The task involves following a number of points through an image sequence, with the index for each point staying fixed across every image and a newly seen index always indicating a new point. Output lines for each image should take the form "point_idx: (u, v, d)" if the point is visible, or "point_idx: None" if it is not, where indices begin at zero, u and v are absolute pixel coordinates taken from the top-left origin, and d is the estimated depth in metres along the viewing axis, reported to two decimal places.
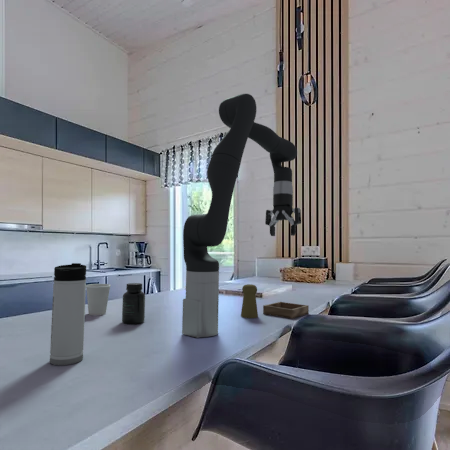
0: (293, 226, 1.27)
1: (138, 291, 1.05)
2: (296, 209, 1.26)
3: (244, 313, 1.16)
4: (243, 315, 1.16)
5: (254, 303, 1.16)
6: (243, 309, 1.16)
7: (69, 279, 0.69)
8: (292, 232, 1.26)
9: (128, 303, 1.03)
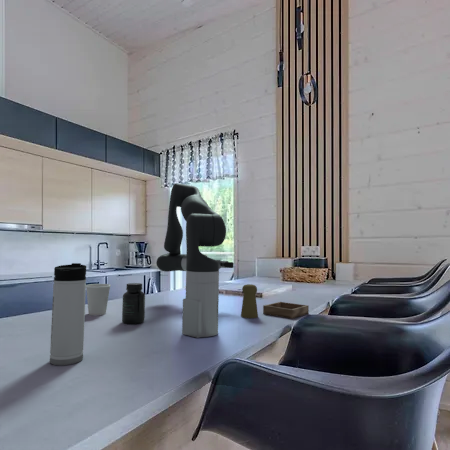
0: None
1: (138, 291, 1.05)
2: None
3: (244, 313, 1.16)
4: (243, 315, 1.16)
5: (254, 303, 1.16)
6: (243, 309, 1.16)
7: (69, 279, 0.69)
8: None
9: (128, 303, 1.03)
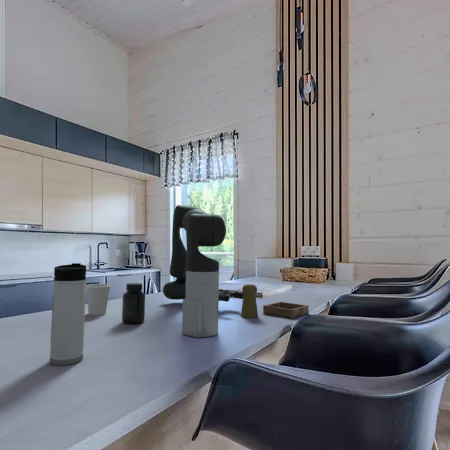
0: None
1: (138, 291, 1.05)
2: None
3: (244, 313, 1.16)
4: (243, 315, 1.16)
5: (254, 303, 1.16)
6: (243, 309, 1.16)
7: (69, 279, 0.69)
8: None
9: (128, 303, 1.03)
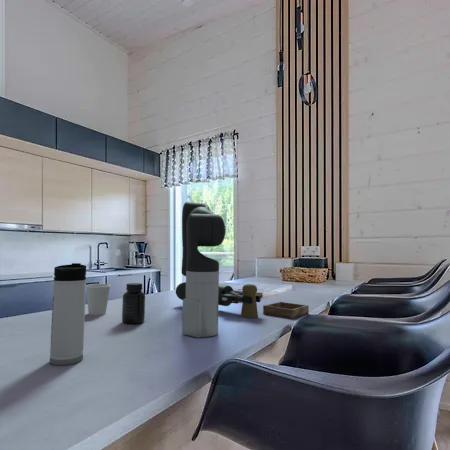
0: None
1: (138, 291, 1.05)
2: None
3: (244, 313, 1.16)
4: (243, 315, 1.16)
5: (254, 303, 1.16)
6: (243, 309, 1.16)
7: (69, 279, 0.69)
8: None
9: (128, 303, 1.03)
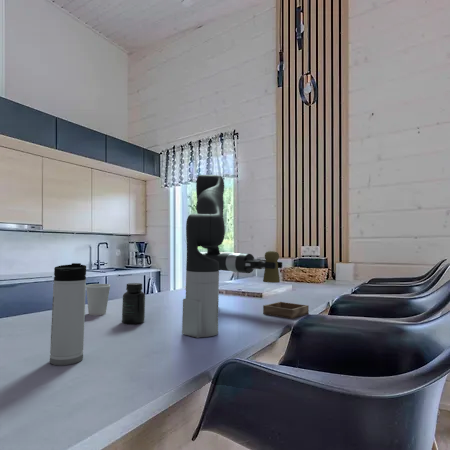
0: None
1: (138, 291, 1.05)
2: None
3: (267, 278, 1.20)
4: (266, 280, 1.21)
5: (276, 268, 1.21)
6: (266, 274, 1.21)
7: (69, 279, 0.69)
8: None
9: (128, 303, 1.03)
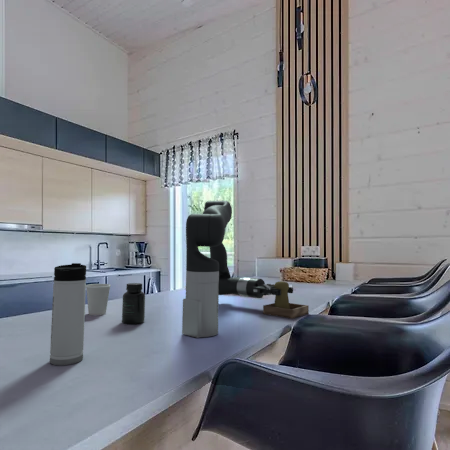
0: None
1: (138, 291, 1.05)
2: None
3: None
4: None
5: (287, 299, 1.21)
6: (276, 305, 1.21)
7: (69, 279, 0.69)
8: None
9: (128, 303, 1.03)
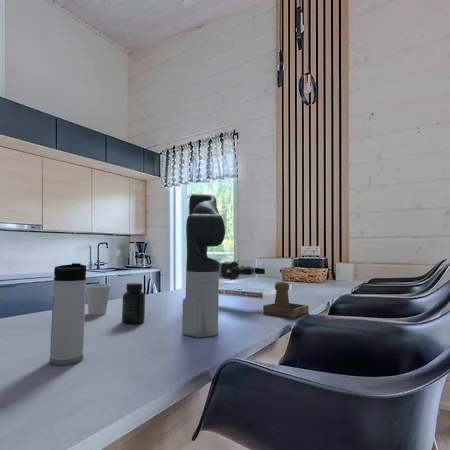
0: None
1: (138, 291, 1.05)
2: (248, 267, 1.42)
3: None
4: None
5: (287, 300, 1.21)
6: (277, 305, 1.21)
7: (69, 279, 0.69)
8: None
9: (128, 303, 1.03)
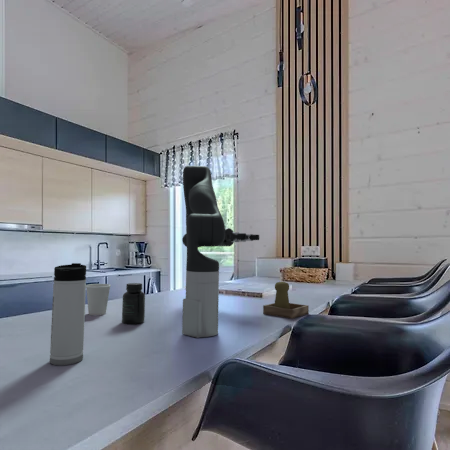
0: None
1: (138, 291, 1.05)
2: None
3: None
4: None
5: (287, 300, 1.21)
6: (277, 305, 1.21)
7: (69, 279, 0.69)
8: None
9: (128, 303, 1.03)
